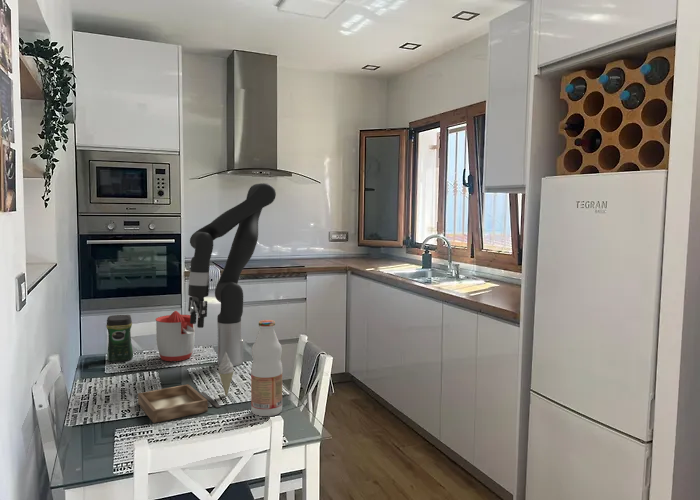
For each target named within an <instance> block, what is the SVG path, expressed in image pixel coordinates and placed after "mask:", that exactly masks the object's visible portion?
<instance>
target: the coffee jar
mask: <svg viewBox="0 0 700 500" xmlns="http://www.w3.org/2000/svg"><path fill="white" fill-rule="evenodd" d="M132 325H133V322H132V317H131V314H115V315H109V316H107V319H106V326H105V327H106V330H107V334H108V335H107V337H108V342H107V355H106V356H107V357H106V358H107V361H108V362H110V363H111V362H112V363H116V362H117V361H120V362H126V361H129V360H132V359H133V357H134V351H133V344H132V336H131V335H132V334H131V328H132Z"/></svg>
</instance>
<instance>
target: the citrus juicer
mask: <svg viewBox="0 0 700 500" xmlns="http://www.w3.org/2000/svg"><path fill="white" fill-rule="evenodd" d="M155 321H156V324H155V326H156V329H155V330H156V347H157V350H158V353H159V357H160V359H161V360H162V361H167V362H172V361H177V362H179V361H180V362H181V361H185V360H188V359H190V358H191V357H192V355H193V350H194V347H195V338H196V337H195V336H196V334H195V333H196V332H195V331H196V330H195V324H191V323H190V314H181V313H180V312H178V311H177V310H173V312H172V313H171V314H169V315H163V316H160V317H159V316H158V317H156V318H155Z"/></svg>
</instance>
